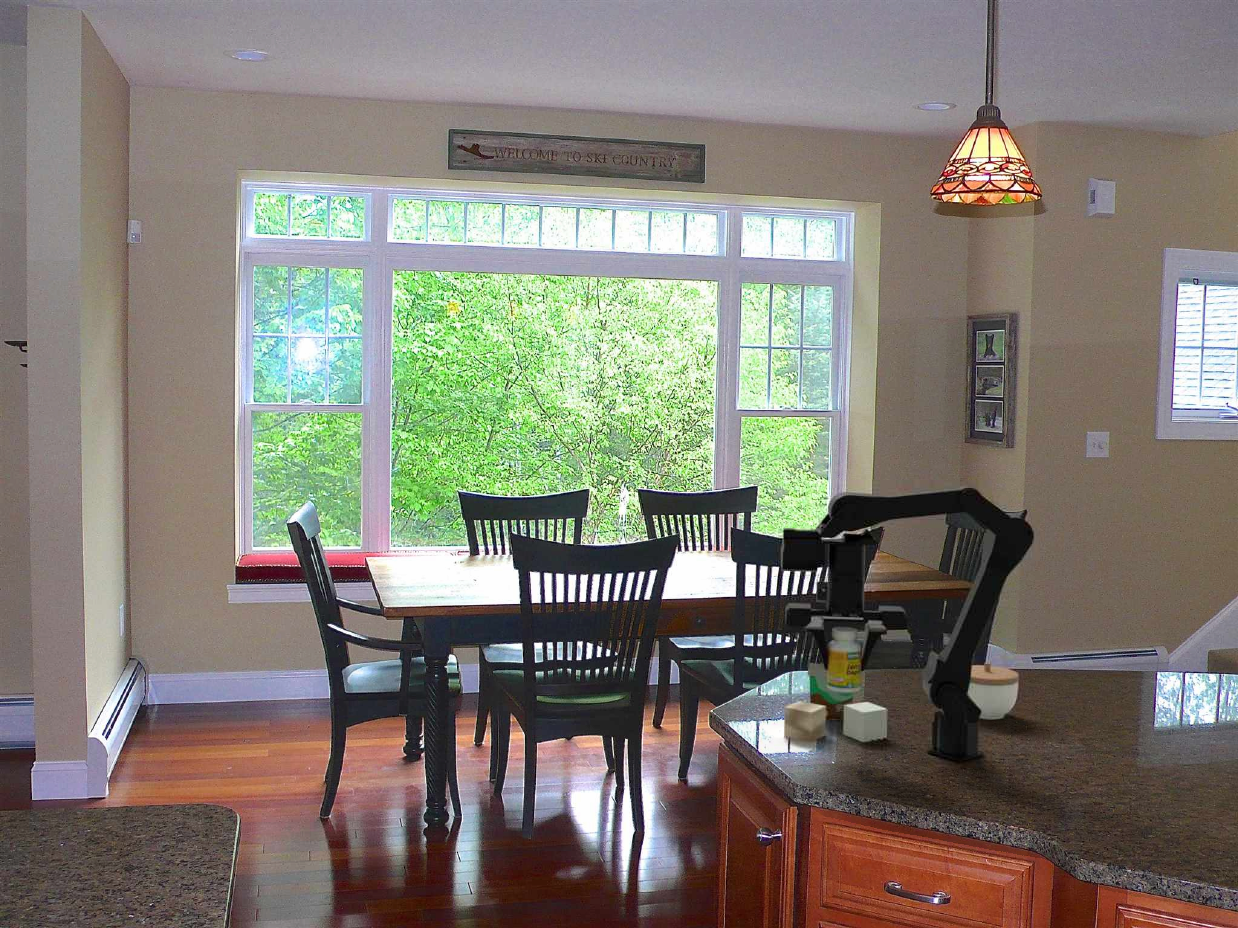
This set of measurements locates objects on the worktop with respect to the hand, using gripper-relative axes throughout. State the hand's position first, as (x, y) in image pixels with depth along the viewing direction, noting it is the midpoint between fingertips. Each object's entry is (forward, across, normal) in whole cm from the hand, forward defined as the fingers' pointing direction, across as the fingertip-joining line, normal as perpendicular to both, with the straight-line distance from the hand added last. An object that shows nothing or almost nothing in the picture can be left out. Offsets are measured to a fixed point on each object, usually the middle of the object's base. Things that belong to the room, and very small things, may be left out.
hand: (844, 669), depth 185 cm
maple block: (+13, +6, -7) cm, 16 cm away
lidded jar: (+13, -27, -25) cm, 39 cm away
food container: (+13, -1, -20) cm, 24 cm away
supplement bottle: (+3, 0, 0) cm, 3 cm away
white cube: (+13, -4, -8) cm, 16 cm away
